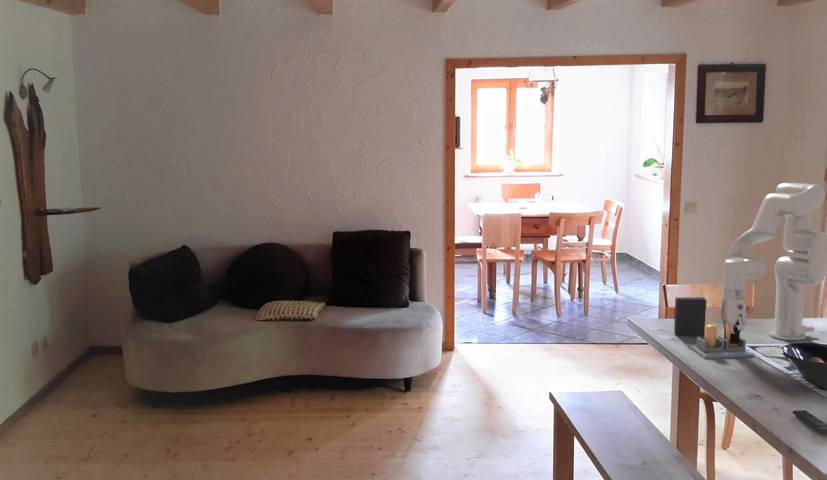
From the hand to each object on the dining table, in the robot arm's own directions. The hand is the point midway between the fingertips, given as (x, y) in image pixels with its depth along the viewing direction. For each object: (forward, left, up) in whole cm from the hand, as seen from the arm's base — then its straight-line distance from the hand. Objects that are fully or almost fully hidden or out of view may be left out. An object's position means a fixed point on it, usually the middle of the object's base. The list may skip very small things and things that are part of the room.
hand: (731, 341), depth 256 cm
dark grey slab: (+6, -22, -4) cm, 23 cm away
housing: (+4, 0, -4) cm, 5 cm away
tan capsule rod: (0, 0, -2) cm, 2 cm away
